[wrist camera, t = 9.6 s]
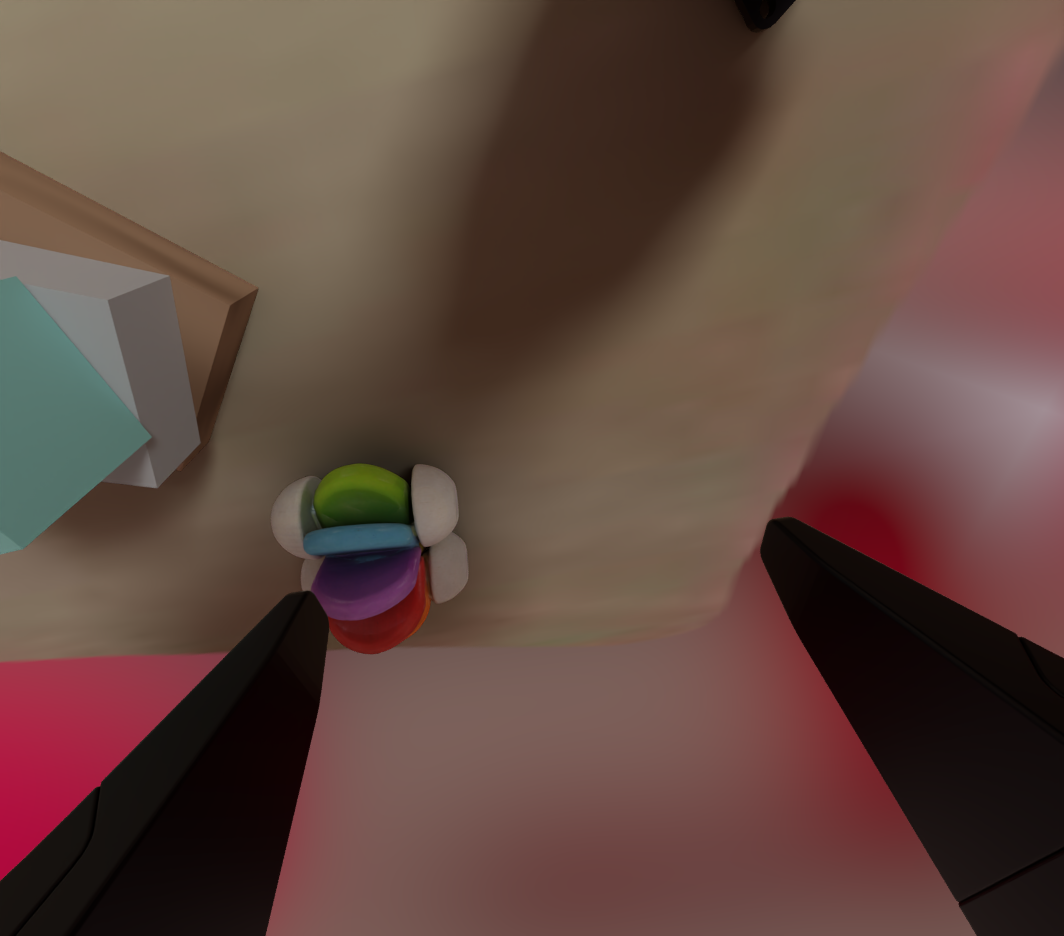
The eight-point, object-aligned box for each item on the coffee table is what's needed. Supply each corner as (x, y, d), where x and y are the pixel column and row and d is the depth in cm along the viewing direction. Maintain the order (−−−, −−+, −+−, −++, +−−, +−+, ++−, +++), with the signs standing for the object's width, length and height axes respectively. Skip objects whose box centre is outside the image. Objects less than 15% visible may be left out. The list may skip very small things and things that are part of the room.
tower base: (2, 145, 14) (-94, 143, 12) (263, 284, 18) (230, 305, 15) (-6, 349, 18) (-81, 379, 15) (214, 434, 21) (180, 471, 19)
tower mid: (-86, 221, 13) (-217, 237, 10) (169, 275, 14) (107, 300, 12) (2, 415, 16) (-81, 460, 14) (200, 443, 18) (157, 488, 15)
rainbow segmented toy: (332, 582, 27) (292, 702, 21) (274, 447, 21) (196, 559, 15) (473, 568, 27) (472, 681, 21) (452, 433, 22) (443, 536, 16)
